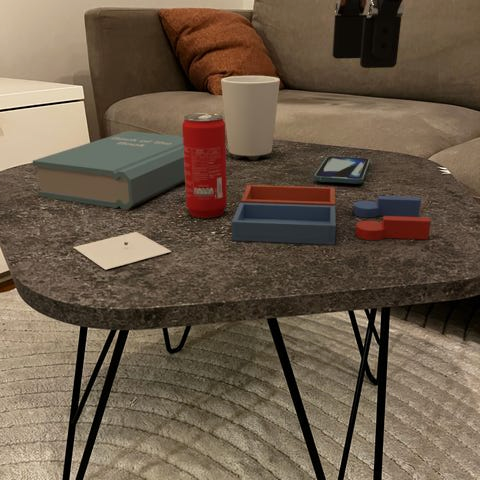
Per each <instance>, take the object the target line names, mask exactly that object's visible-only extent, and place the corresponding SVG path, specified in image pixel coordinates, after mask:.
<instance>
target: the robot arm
mask: <svg viewBox="0 0 480 480" xmlns="http://www.w3.org/2000/svg"><path fill="white" fill-rule="evenodd" d="M366 8H367V14H364V13H365V9H366ZM404 8H405V6H404V0H336V1H335V7H334V13H335V15H334V21H333V22H334V23H333V40H332V58H334V59H339V60H340V59H360V60H359V65H360V67H361V68H364V69H387V68H394V67H396V65H397V63H398V62H397V61H398V52H399V44H400V35H401V26H402V25H401V24H402V17H403V15H404V10H405V9H404Z"/></svg>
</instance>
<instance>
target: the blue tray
mask: <svg viewBox="0 0 480 480" xmlns="http://www.w3.org/2000/svg"><path fill="white" fill-rule="evenodd" d="M336 231H337V214H336V205H335V206H325V205H295V204H266V203H241V202H239V204H238V206H237V209H236V211H235V213H234V216H233V218H232V220H231V241H233V242H254V243H255V242H257V243H259V242H261V243H280V244H283V243H284V244H304V245H305V244H309V245H331V246H332V245H334V246H335V245H336V233H337V232H336Z"/></svg>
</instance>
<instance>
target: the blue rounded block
mask: <svg viewBox="0 0 480 480" xmlns="http://www.w3.org/2000/svg"><path fill="white" fill-rule="evenodd" d="M421 199H422V198H421V197H420V196H398V195H397V196H394V195H377V201H372V200H359V201H355V202H354V203H353V208H352V214H353V215H354V216H356V217H359V218H363V219H364V218H365V219H366V218H367V219H371V218H377V217H383V216H401V217H420V211H421V205H422V204H421V203H422V200H421Z"/></svg>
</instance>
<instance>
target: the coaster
mask: <svg viewBox="0 0 480 480" xmlns="http://www.w3.org/2000/svg"><path fill="white" fill-rule="evenodd" d="M72 248H73V249H75V250H76V251H78V252H79V253H80V254H82V255H83V256H85V257H86V258H88V259H89V260H91V261H92V262H93V263H95V264H96V265H98V266H99V267H100V268H102V269H104V270H105V271H106V270H109V269H113V268H117V267H120V266H124V265H129V264H132V263H135V262H140V261H142V260H145V259H150V258H154V257H157V256H161V255H165V254H167V253H171V252H173V251H172V250H170V249H169V248H167V247H165V246H163V245H161V244H160V243H157V242H155V241H154V240H152V239H150V238H148V237H146V236H145V235H143V234H141V233H139V232H138V231H134V232H130V233H126V234H121V235H118V236H113V237H109V238H106V239H101V240H95V241H93V242H89V243H84V244H81V245H77V246H76V245H75V246H73V247H72Z"/></svg>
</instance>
